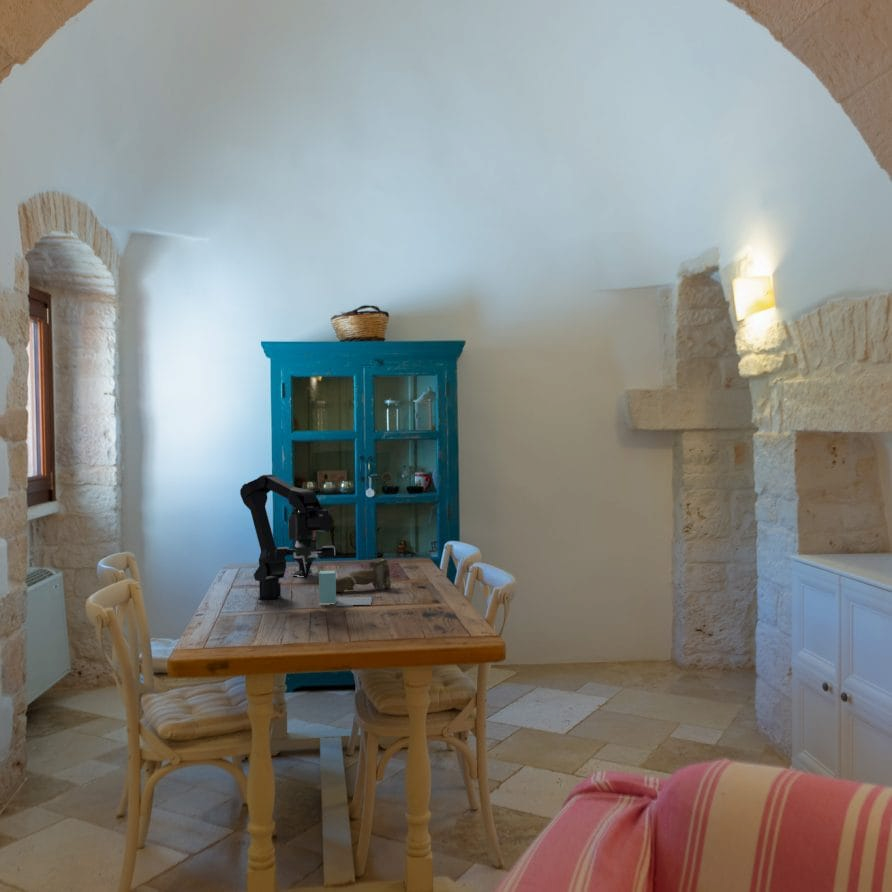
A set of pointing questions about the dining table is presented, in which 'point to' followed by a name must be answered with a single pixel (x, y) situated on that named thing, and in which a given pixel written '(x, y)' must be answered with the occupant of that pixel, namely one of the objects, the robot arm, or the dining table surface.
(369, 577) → the sculpture
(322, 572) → the teal block
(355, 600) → the felt mat
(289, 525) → the toy robot
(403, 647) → the dining table surface
